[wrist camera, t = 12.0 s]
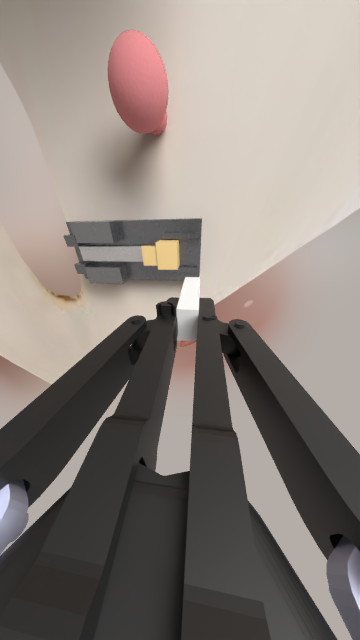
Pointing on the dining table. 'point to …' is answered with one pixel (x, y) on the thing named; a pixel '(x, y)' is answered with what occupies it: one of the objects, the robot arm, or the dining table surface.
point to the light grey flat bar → (111, 253)
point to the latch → (162, 255)
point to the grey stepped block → (136, 236)
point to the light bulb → (138, 83)
